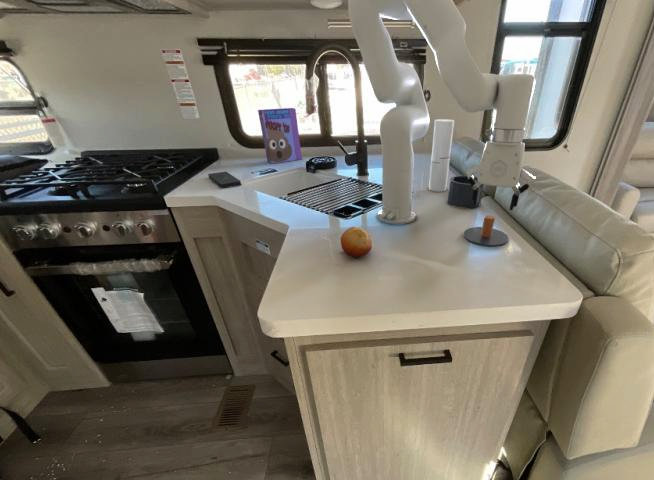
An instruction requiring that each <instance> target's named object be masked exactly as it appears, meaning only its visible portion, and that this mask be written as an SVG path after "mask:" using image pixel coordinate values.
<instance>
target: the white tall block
mask: <svg viewBox="0 0 654 480" xmlns="http://www.w3.org/2000/svg"><path fill="white" fill-rule="evenodd" d="M454 126H455V120H454V119H449V118H448V119H446V118H437V119H434V125H433V136H432V148H431V158H430V160H431V161H430V169H429V179H428V181H429V182H428V190H429V191H430V192H437V193H439V192H445V191H446V190H447V184H448V176H449V168H450V160H451V153H452V152H451V150H452V144H453V135H454V128H455V127H454Z"/></svg>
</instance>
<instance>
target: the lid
mask: <svg viewBox="0 0 654 480" xmlns="http://www.w3.org/2000/svg"><path fill="white" fill-rule="evenodd" d="M495 220H496V216H494V215H491V214H490V215H489V214H488V215H484V217H483V223H482V226H473V227H470V228H467V229H465V230H464V231H463V239H465V240H466V241H467V242H469V243H471V244H474V245H477V246H481V247H487V248H489V247H494V248H495V247H502V246H504V245H506V244H507V243H508V242H509V240H510V237H509V235H508V234H506V233H505V232H503V231H502V230H499V229H497V228H494V224H495Z"/></svg>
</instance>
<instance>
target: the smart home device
mask: <svg viewBox="0 0 654 480" xmlns="http://www.w3.org/2000/svg"><path fill="white" fill-rule="evenodd" d="M207 176H208V179H209V180H211V181H212V182H213V183H215V184H216V185H217V186H218V187H219V188H221V189H225V188H226V189H227V188H231V187H232V188H233V187H239V186H241V185H242V182H241V180H240V179H239V178H237V177H235V176H234V175H232V173H229V171H219V172H211V173H208V174H207Z"/></svg>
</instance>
